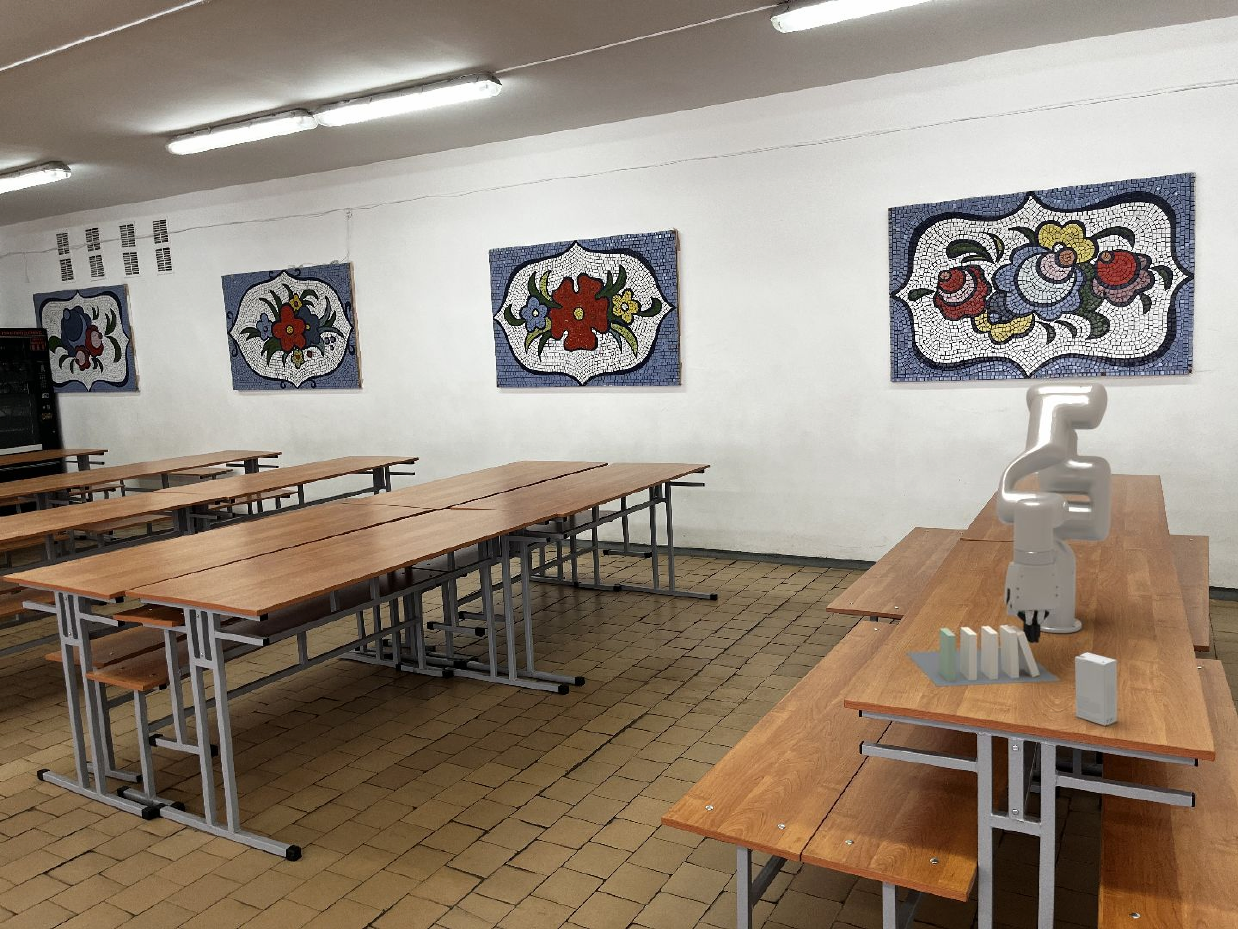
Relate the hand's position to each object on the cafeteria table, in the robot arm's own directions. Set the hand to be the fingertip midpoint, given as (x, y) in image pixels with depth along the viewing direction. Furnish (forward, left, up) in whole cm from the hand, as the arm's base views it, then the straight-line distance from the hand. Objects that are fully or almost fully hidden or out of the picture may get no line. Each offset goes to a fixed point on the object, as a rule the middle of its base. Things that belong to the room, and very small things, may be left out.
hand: (1031, 640), depth 199 cm
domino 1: (+7, -12, -7) cm, 15 cm away
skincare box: (+19, +13, -8) cm, 25 cm away
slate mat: (0, -10, -8) cm, 13 cm away
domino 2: (+4, -8, -7) cm, 11 cm away
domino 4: (0, 0, -7) cm, 7 cm away
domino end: (+9, -16, -7) cm, 19 cm away
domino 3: (+2, -4, -7) cm, 8 cm away
